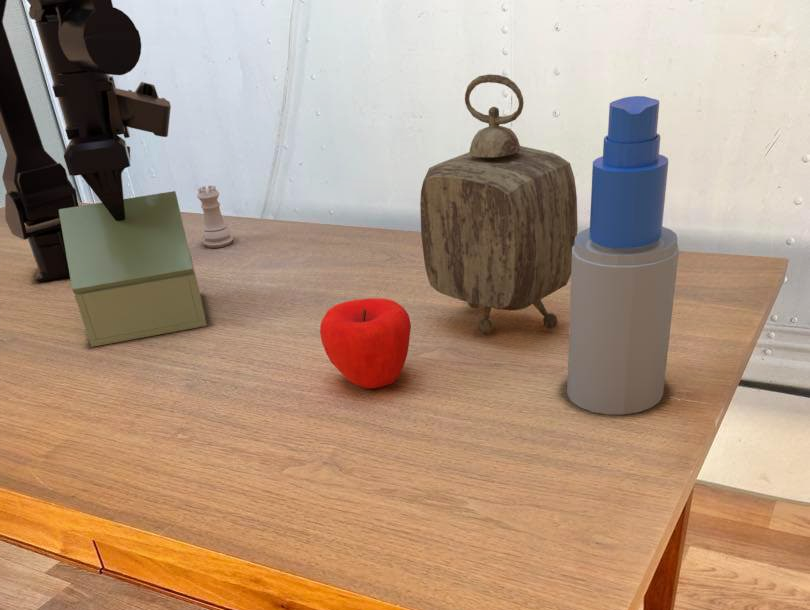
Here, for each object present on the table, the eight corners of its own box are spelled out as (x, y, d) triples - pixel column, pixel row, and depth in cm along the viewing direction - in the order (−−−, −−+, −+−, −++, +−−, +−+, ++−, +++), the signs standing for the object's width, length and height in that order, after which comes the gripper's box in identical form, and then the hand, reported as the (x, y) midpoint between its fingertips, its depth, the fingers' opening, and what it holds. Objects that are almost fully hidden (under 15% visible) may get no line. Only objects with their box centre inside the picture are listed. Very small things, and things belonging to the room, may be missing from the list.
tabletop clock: (574, 326, 93) (583, 69, 78) (524, 357, 88) (523, 89, 73) (471, 300, 101) (462, 63, 86) (421, 327, 96) (401, 81, 81)
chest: (94, 314, 108) (78, 266, 104) (200, 295, 110) (189, 247, 106) (91, 347, 100) (74, 295, 96) (206, 326, 102) (194, 274, 98)
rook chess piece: (198, 247, 126) (185, 192, 121) (214, 237, 129) (202, 183, 124) (223, 249, 124) (211, 192, 120) (239, 239, 128) (227, 183, 123)
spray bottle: (575, 367, 85) (586, 90, 70) (667, 373, 82) (699, 87, 67) (558, 410, 78) (566, 115, 63) (657, 418, 76) (691, 112, 61)
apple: (311, 391, 86) (298, 317, 81) (362, 356, 91) (353, 285, 87) (382, 409, 81) (373, 333, 77) (431, 371, 87) (426, 298, 82)
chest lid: (60, 213, 99) (58, 209, 99) (176, 195, 102) (175, 190, 101) (74, 293, 96) (72, 289, 95) (194, 273, 98) (193, 268, 97)
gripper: (158, 71, 83) (195, 231, 93) (153, 48, 98) (185, 189, 107) (41, 86, 81) (91, 248, 91) (54, 61, 96) (96, 203, 105)
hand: (120, 219), depth 99 cm, fingers closed
